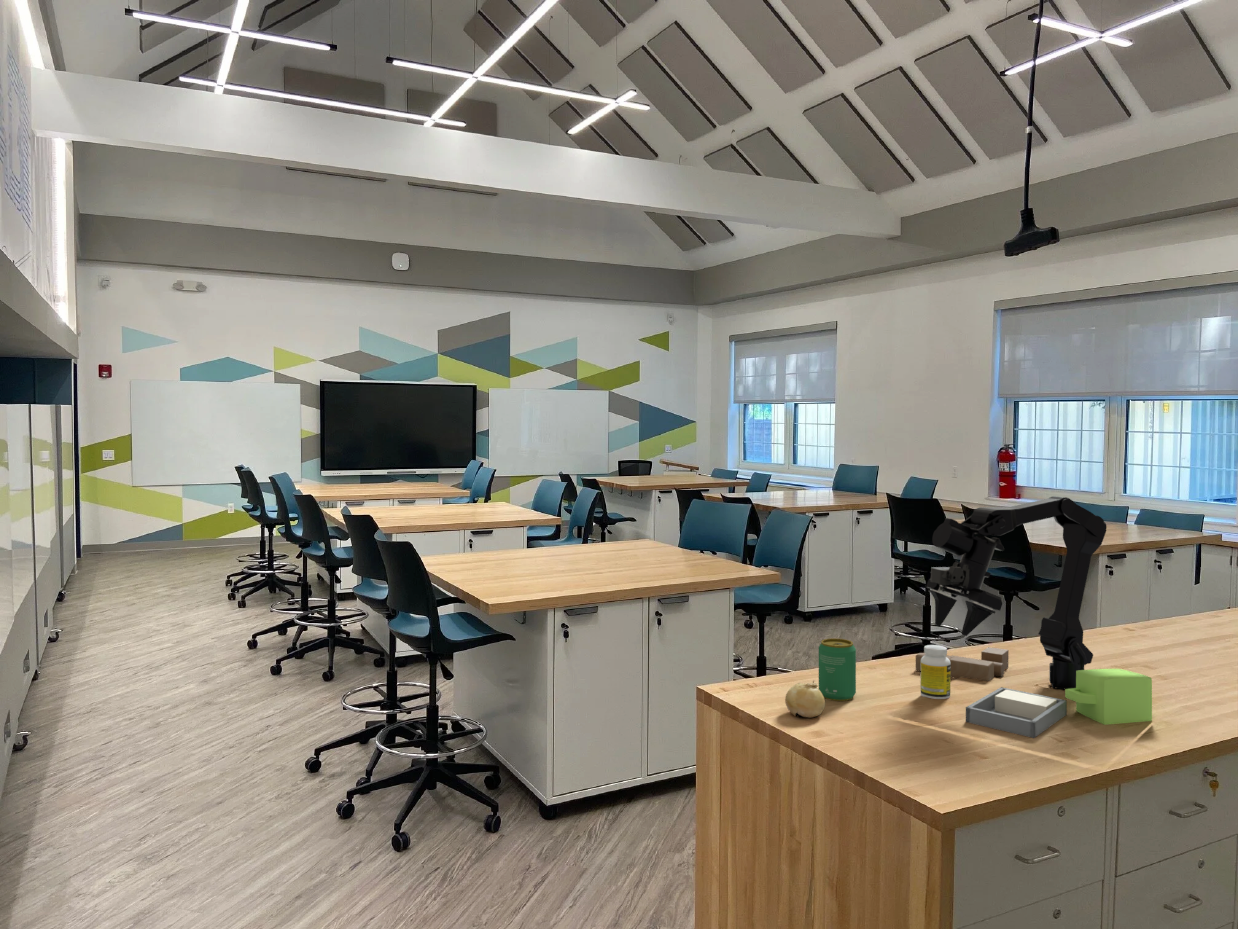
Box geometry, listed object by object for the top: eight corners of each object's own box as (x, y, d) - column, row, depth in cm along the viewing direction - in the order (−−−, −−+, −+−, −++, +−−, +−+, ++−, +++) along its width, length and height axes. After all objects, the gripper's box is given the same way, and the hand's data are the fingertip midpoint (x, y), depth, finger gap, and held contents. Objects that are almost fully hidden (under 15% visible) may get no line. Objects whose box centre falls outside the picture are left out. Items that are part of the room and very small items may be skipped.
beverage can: (862, 695, 190) (862, 641, 189) (844, 704, 184) (844, 648, 183) (830, 688, 195) (829, 636, 195) (811, 696, 189) (811, 642, 189)
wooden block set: (992, 662, 196) (914, 650, 208) (992, 687, 196) (914, 673, 208) (1013, 646, 209) (939, 636, 221) (1013, 669, 210) (938, 657, 221)
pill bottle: (952, 702, 184) (953, 651, 184) (922, 701, 185) (922, 650, 185) (947, 693, 190) (948, 644, 190) (918, 692, 192) (918, 643, 191)
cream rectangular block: (1006, 703, 181) (1006, 689, 181) (1056, 714, 174) (1056, 699, 174) (994, 710, 177) (994, 696, 177) (1046, 721, 170) (1046, 706, 170)
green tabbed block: (1134, 709, 180) (1134, 664, 180) (1171, 723, 170) (1171, 675, 171) (1057, 713, 177) (1057, 667, 177) (1091, 727, 167) (1091, 678, 168)
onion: (802, 724, 172) (802, 689, 172) (777, 712, 179) (777, 679, 179) (832, 717, 176) (832, 683, 176) (807, 706, 183) (807, 673, 183)
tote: (1001, 703, 183) (1001, 687, 183) (1066, 717, 174) (1066, 700, 174) (965, 724, 170) (965, 707, 170) (1034, 741, 161) (1034, 722, 161)
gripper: (919, 544, 194) (895, 609, 193) (972, 556, 176) (947, 628, 175) (958, 561, 196) (935, 625, 196) (1015, 574, 178) (990, 645, 178)
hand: (950, 630), depth 186 cm, fingers open, 9 cm apart
